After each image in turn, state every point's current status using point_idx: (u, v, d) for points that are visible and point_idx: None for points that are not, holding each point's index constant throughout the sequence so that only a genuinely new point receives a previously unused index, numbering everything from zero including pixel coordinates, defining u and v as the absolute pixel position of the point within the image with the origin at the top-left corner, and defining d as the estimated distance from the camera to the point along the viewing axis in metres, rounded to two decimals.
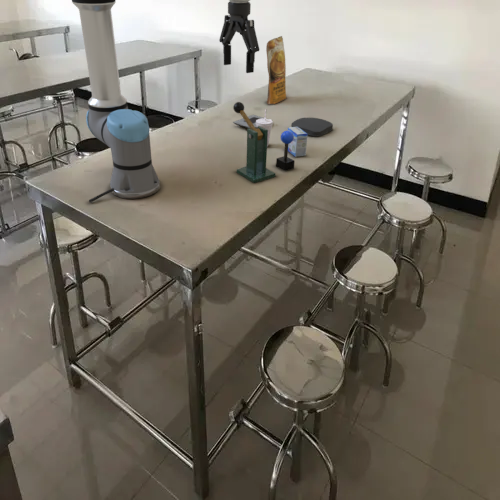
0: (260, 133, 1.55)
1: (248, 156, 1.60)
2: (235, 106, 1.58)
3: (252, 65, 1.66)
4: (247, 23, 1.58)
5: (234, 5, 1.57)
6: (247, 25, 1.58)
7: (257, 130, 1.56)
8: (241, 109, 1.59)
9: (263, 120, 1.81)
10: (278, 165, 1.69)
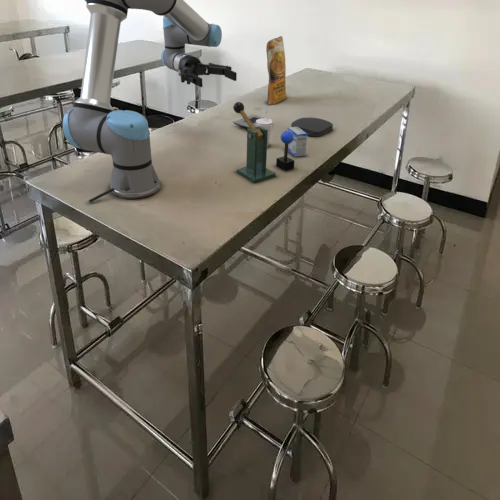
0: (260, 133, 1.55)
1: (248, 156, 1.60)
2: (235, 106, 1.58)
3: None
4: (211, 63, 1.76)
5: None
6: (211, 63, 1.76)
7: (257, 130, 1.56)
8: (241, 109, 1.59)
9: (263, 120, 1.81)
10: (278, 165, 1.69)
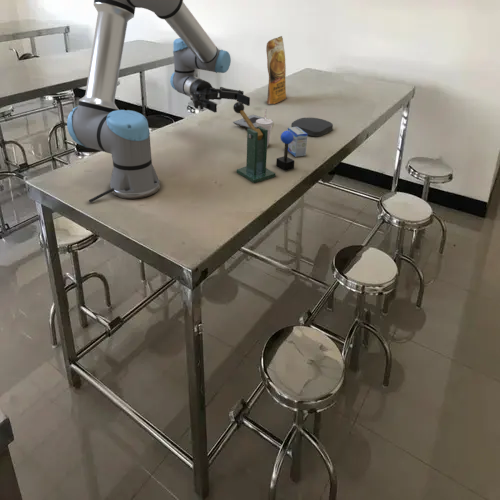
0: (260, 133, 1.55)
1: (248, 156, 1.60)
2: (235, 106, 1.58)
3: None
4: (222, 87, 1.75)
5: None
6: (223, 88, 1.75)
7: (257, 130, 1.56)
8: (241, 109, 1.59)
9: (263, 120, 1.81)
10: (278, 165, 1.69)
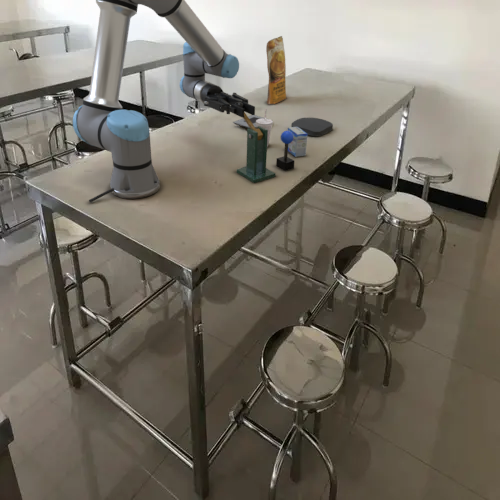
0: (260, 133, 1.55)
1: (248, 156, 1.60)
2: None
3: None
4: (235, 93, 1.69)
5: None
6: (235, 93, 1.69)
7: (257, 130, 1.56)
8: None
9: (263, 120, 1.81)
10: (278, 165, 1.69)
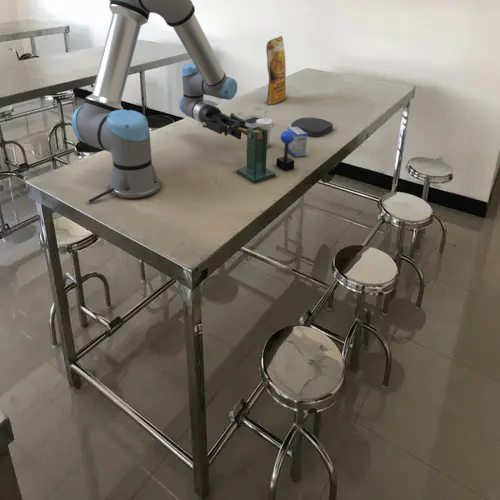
0: (259, 131, 1.55)
1: (248, 156, 1.60)
2: None
3: None
4: (232, 114, 1.74)
5: (212, 105, 1.75)
6: (232, 114, 1.74)
7: (255, 130, 1.56)
8: (238, 126, 1.63)
9: (263, 120, 1.81)
10: (278, 165, 1.69)
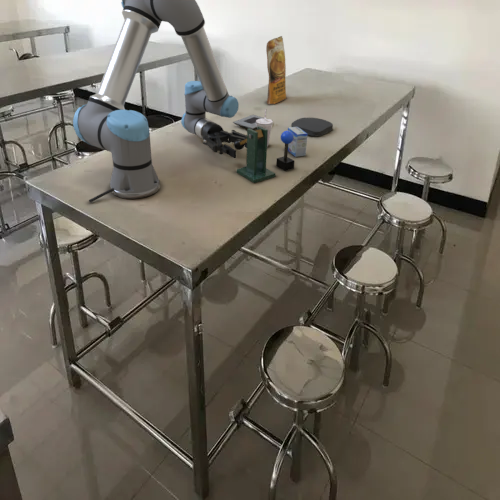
0: (258, 130, 1.56)
1: (248, 156, 1.60)
2: (234, 143, 1.66)
3: None
4: (234, 130, 1.78)
5: None
6: (234, 131, 1.77)
7: None
8: (240, 141, 1.65)
9: (263, 120, 1.81)
10: (278, 165, 1.69)
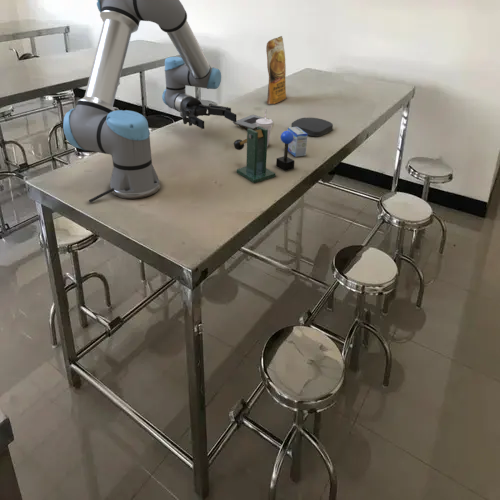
0: (258, 130, 1.56)
1: (248, 156, 1.60)
2: (234, 143, 1.66)
3: None
4: (211, 104, 1.84)
5: None
6: (212, 104, 1.83)
7: None
8: (240, 141, 1.65)
9: (263, 120, 1.81)
10: (278, 165, 1.69)
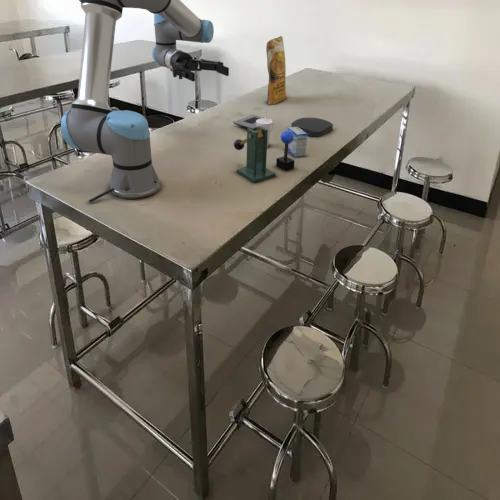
0: (258, 130, 1.56)
1: (248, 156, 1.60)
2: (234, 143, 1.66)
3: None
4: (202, 59, 1.76)
5: None
6: (203, 59, 1.76)
7: None
8: (240, 141, 1.65)
9: (263, 120, 1.81)
10: (278, 165, 1.69)
